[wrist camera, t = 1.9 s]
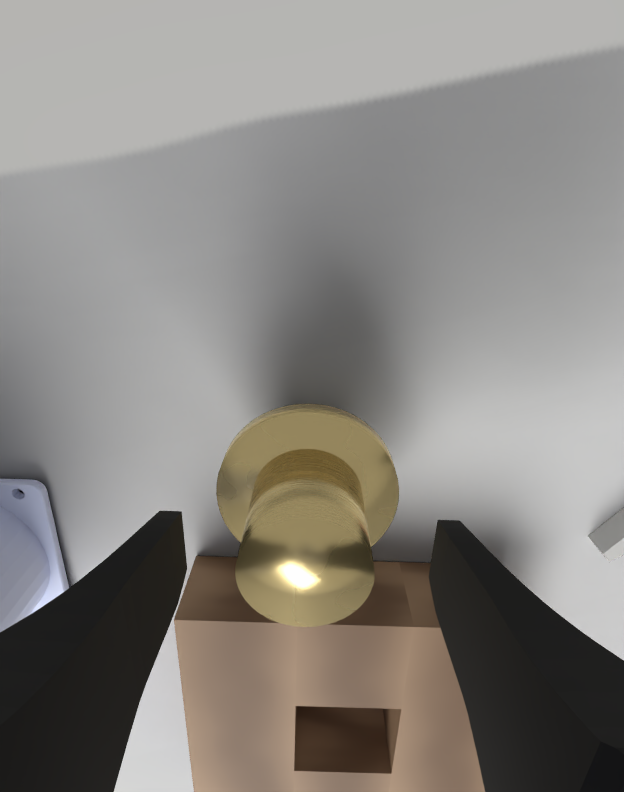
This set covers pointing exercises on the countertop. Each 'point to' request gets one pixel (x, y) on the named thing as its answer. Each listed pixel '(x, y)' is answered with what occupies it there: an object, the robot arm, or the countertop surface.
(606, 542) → the pliers
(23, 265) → the countertop surface
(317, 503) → the pin
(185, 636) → the hitch block
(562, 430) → the countertop surface
